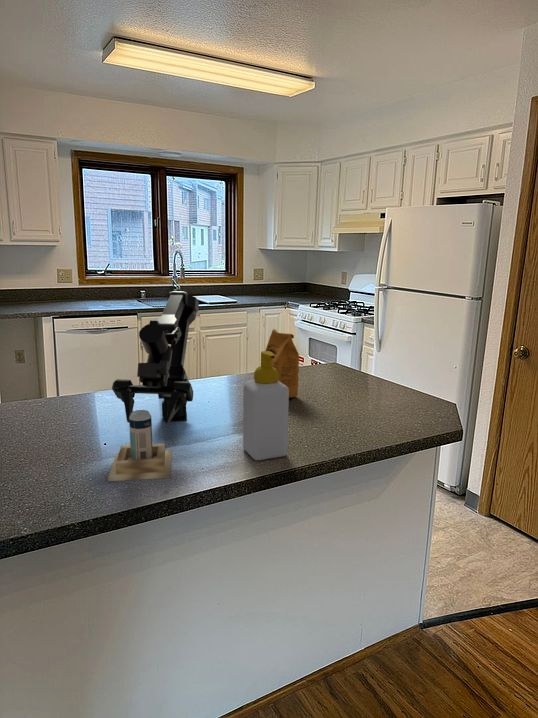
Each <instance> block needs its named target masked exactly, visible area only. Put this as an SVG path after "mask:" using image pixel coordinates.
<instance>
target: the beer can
mask: <svg viewBox="0 0 538 718" xmlns="http://www.w3.org/2000/svg"><path fill="white" fill-rule="evenodd" d="M152 422H153V421H152V415H151V414H150V411H149V410H146V409H136V410H133V412H132V413H131V415H130V417H129V424H128V425H129V441H130V442H129V445H130V446H131V460H140V459H153V446H152V444H153V424H152Z"/></svg>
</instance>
